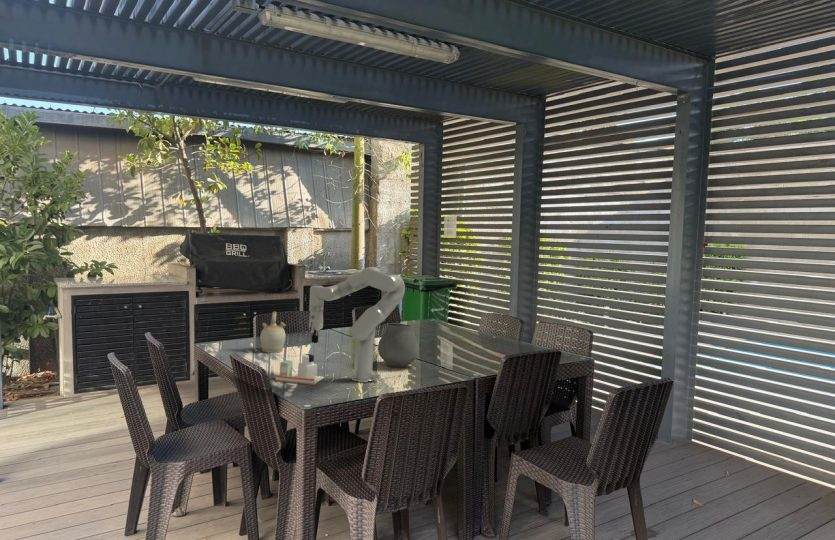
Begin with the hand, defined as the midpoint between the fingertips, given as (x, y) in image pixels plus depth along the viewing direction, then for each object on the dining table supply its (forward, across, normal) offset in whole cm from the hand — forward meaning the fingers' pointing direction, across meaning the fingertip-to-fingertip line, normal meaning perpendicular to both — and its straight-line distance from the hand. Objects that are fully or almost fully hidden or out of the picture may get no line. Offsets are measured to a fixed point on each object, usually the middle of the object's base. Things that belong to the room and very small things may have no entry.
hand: (314, 342), depth 308 cm
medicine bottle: (+17, -10, 0) cm, 19 cm away
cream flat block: (+17, -14, +2) cm, 22 cm away
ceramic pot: (+17, +36, -39) cm, 56 cm away
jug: (+17, +44, +43) cm, 64 cm away
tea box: (+17, -16, +9) cm, 25 cm away
